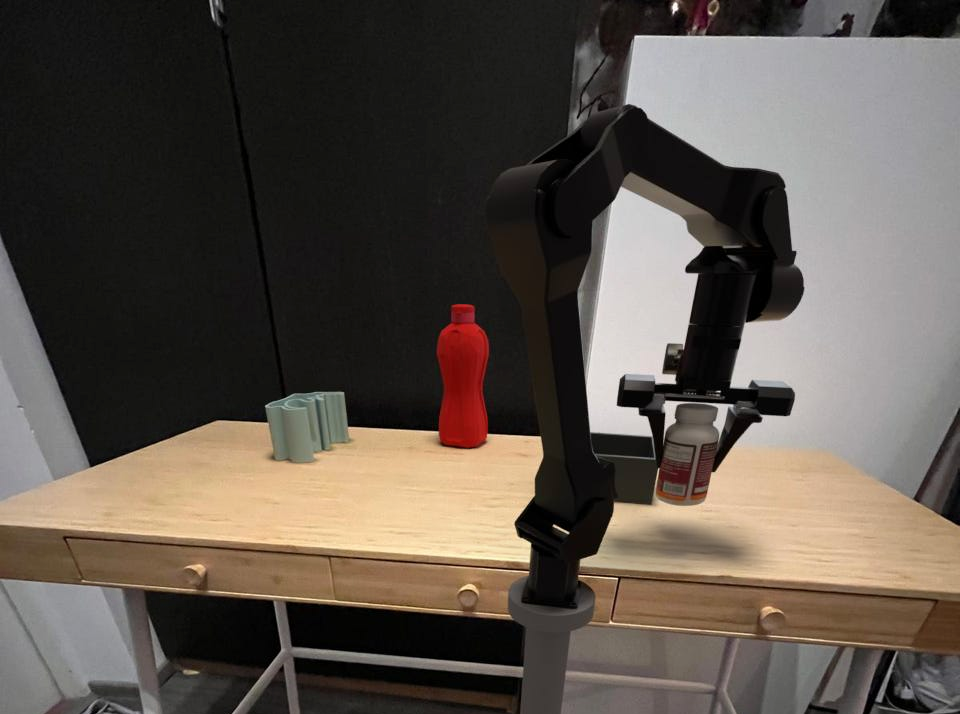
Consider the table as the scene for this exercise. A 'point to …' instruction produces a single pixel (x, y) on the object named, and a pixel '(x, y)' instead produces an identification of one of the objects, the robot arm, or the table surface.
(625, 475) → the waste bin
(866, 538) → the table surface
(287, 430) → the squiggly pen holder
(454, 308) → the water bottle
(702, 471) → the pill bottle
